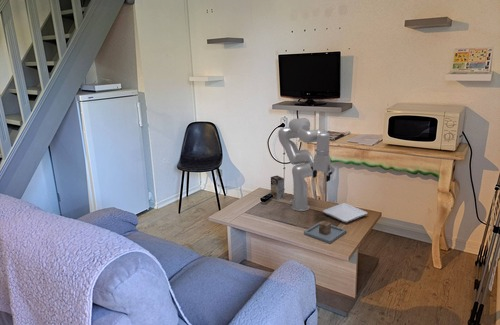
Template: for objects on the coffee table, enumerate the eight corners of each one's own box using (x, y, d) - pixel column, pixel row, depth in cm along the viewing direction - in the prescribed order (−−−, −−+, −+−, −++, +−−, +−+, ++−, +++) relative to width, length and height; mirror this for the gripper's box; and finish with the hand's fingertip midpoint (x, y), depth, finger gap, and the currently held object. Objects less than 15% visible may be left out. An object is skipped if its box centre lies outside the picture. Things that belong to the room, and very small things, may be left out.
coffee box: (270, 196, 275) (270, 176, 271) (277, 194, 278) (276, 175, 274) (277, 200, 268) (277, 179, 263) (284, 198, 271) (284, 178, 266)
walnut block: (318, 232, 215) (319, 223, 213) (323, 229, 218) (323, 220, 216) (326, 235, 211) (326, 225, 210) (330, 232, 215) (331, 223, 213)
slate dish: (303, 234, 215) (303, 231, 214) (320, 224, 227) (320, 221, 226) (330, 243, 202) (330, 241, 202) (346, 232, 215) (346, 229, 214)
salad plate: (345, 226, 224) (345, 220, 223) (321, 214, 241) (321, 210, 240) (368, 217, 235) (368, 212, 234) (343, 207, 252) (343, 202, 251)
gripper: (307, 151, 221) (306, 177, 226) (331, 157, 209) (329, 184, 214) (314, 148, 226) (313, 174, 231) (338, 154, 214) (336, 180, 219)
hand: (321, 179), depth 223 cm, fingers open, 9 cm apart
